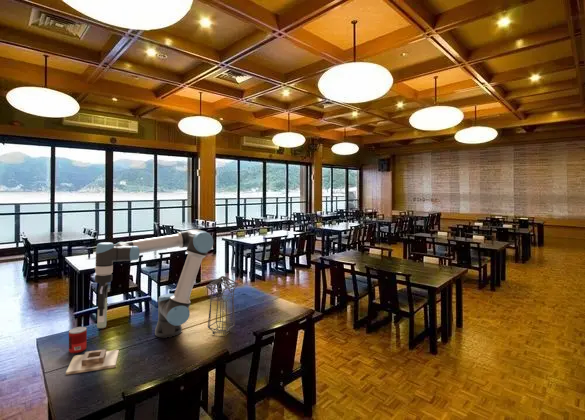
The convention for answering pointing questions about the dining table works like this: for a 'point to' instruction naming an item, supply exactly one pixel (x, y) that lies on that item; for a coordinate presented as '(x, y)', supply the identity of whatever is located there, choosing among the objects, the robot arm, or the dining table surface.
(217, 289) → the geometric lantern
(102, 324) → the peg
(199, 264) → the robot arm
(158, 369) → the dining table surface
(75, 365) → the socket board
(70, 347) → the canned food
